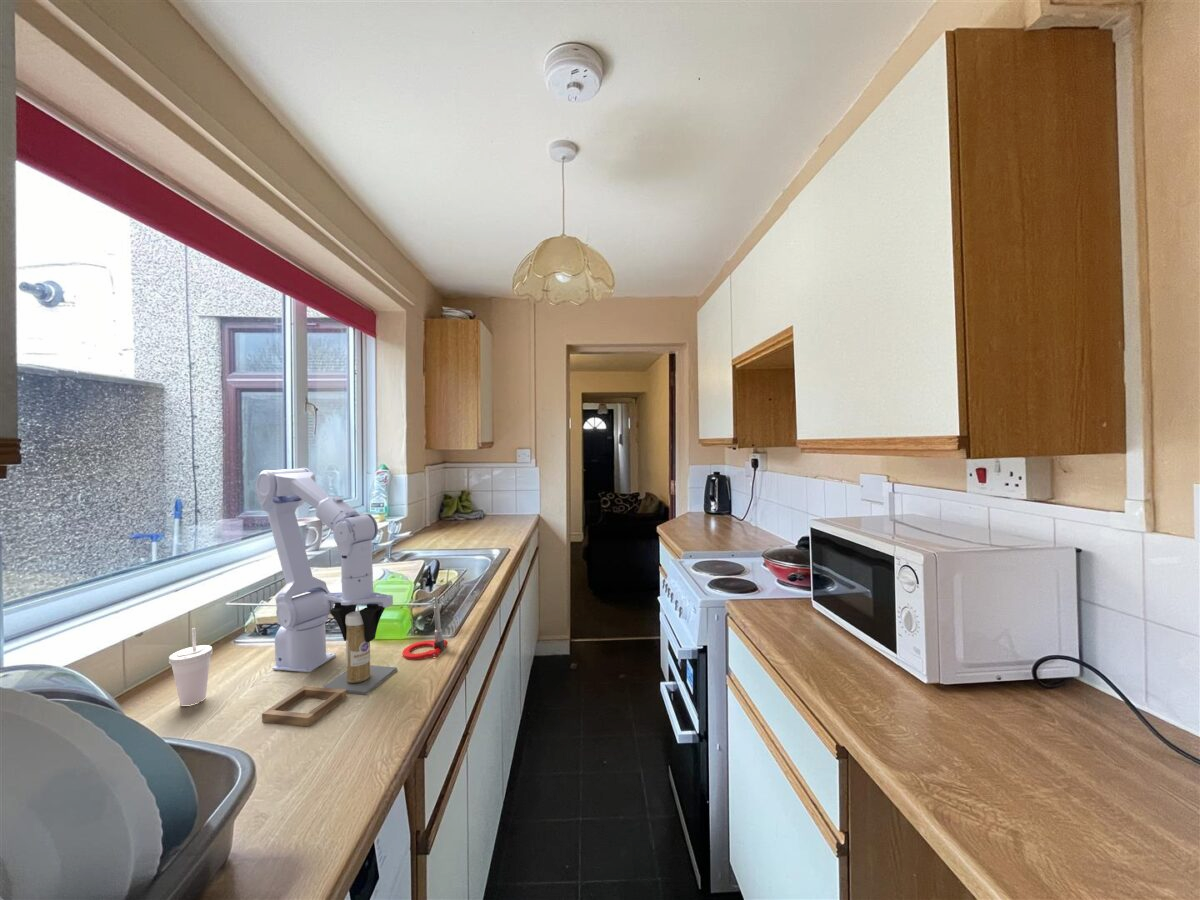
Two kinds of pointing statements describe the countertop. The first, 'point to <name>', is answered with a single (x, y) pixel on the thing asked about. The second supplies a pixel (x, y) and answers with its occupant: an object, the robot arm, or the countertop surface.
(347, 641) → the sprinkles bottle
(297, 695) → the collar
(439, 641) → the tow hook
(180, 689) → the smoothie
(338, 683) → the coaster
